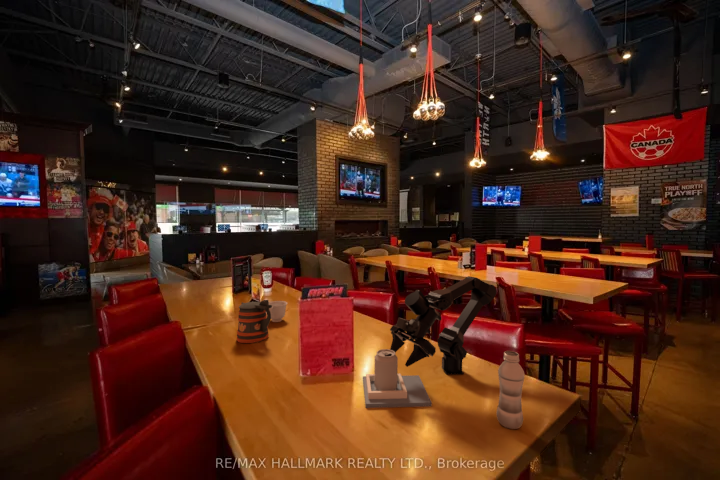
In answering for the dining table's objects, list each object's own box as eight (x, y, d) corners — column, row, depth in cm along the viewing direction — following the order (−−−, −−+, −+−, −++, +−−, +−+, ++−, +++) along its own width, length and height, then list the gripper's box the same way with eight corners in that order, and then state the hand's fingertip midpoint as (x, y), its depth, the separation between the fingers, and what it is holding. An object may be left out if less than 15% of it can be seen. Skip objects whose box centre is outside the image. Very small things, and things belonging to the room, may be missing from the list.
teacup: (259, 324, 171) (259, 306, 171) (271, 317, 186) (271, 300, 185) (280, 326, 169) (280, 307, 169) (290, 318, 184) (290, 301, 183)
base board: (418, 378, 112) (418, 369, 112) (431, 406, 95) (431, 396, 95) (362, 379, 111) (362, 370, 111) (365, 407, 94) (365, 397, 94)
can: (386, 396, 97) (387, 359, 97) (369, 387, 103) (369, 352, 102) (402, 388, 103) (402, 352, 102) (384, 380, 108) (385, 345, 107)
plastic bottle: (491, 418, 89) (493, 349, 88) (514, 417, 90) (516, 348, 89) (504, 433, 83) (505, 358, 82) (528, 432, 83) (530, 358, 82)
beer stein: (282, 336, 153) (281, 296, 152) (261, 347, 140) (260, 303, 139) (252, 331, 161) (251, 292, 160) (229, 340, 148) (229, 298, 147)
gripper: (394, 302, 114) (368, 338, 110) (429, 315, 98) (400, 358, 93) (411, 320, 119) (387, 355, 114) (447, 335, 102) (421, 377, 98)
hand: (397, 360), depth 105 cm, fingers open, 9 cm apart
